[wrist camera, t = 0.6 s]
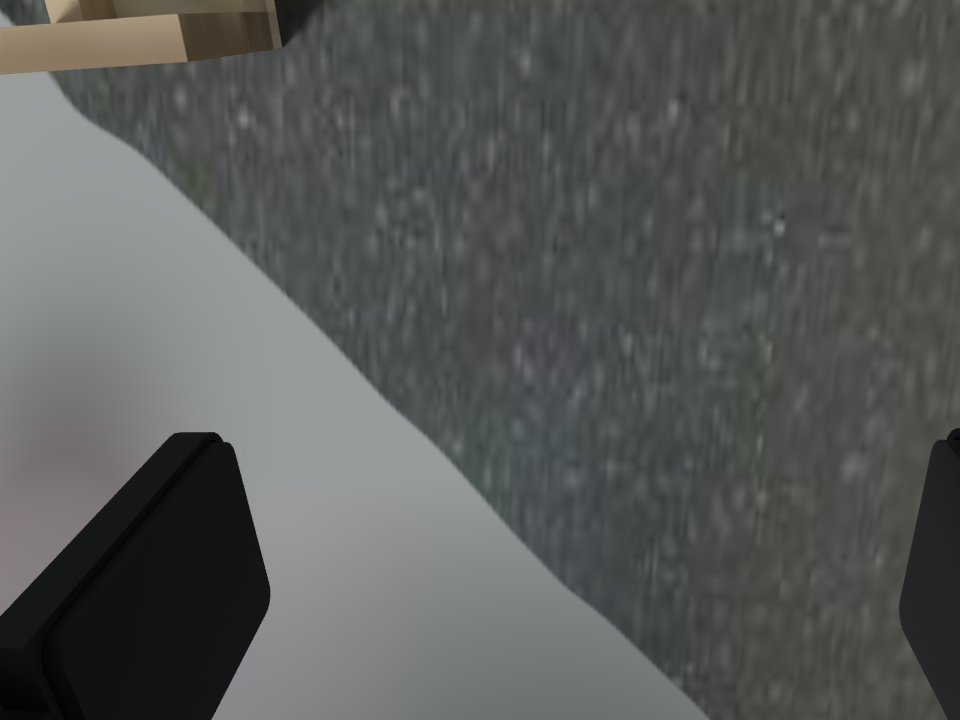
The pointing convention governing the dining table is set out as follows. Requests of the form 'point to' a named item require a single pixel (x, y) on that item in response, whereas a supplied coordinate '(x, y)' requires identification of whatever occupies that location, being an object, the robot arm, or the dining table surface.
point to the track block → (138, 33)
